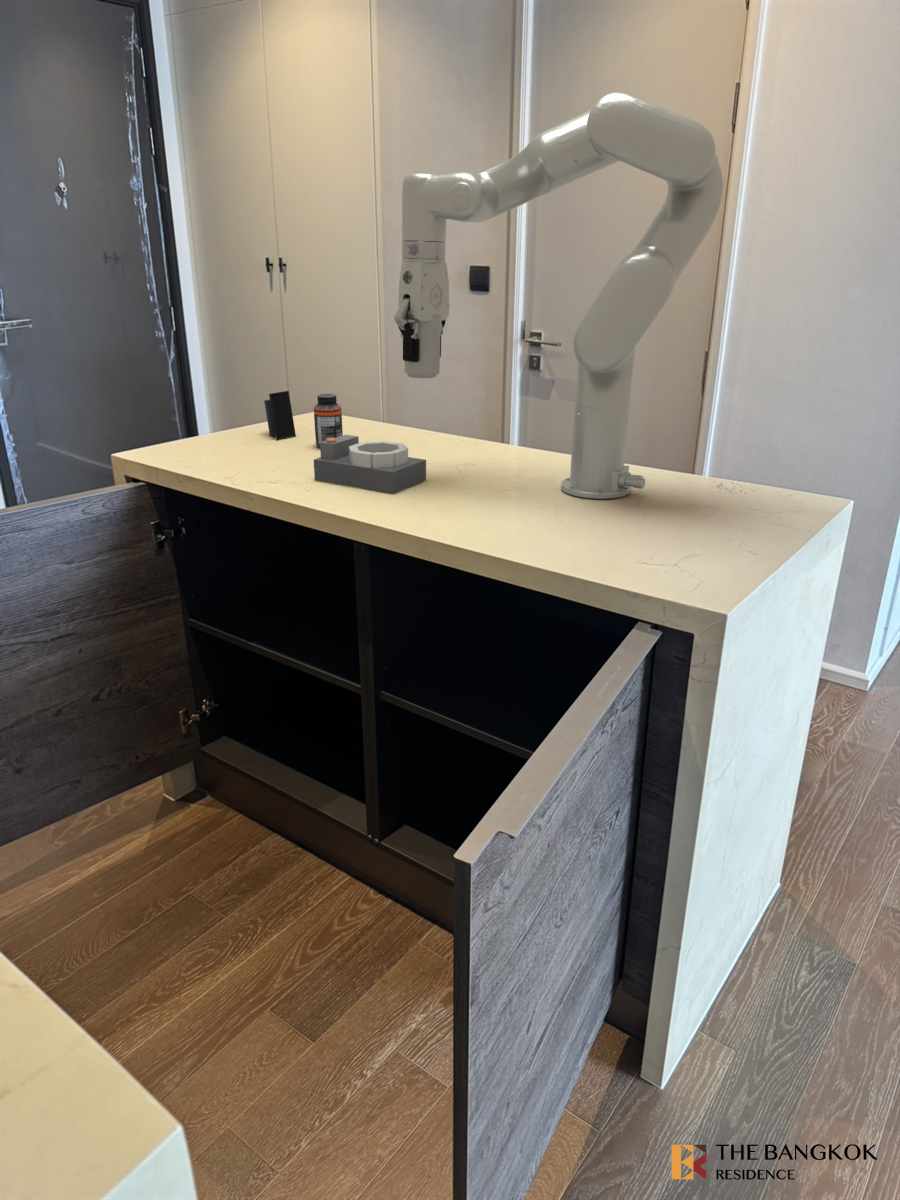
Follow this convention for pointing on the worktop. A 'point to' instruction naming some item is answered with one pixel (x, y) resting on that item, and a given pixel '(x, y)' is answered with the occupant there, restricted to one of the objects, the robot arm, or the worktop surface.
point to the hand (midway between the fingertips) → (422, 358)
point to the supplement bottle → (327, 418)
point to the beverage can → (426, 350)
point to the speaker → (280, 415)
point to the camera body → (368, 465)
